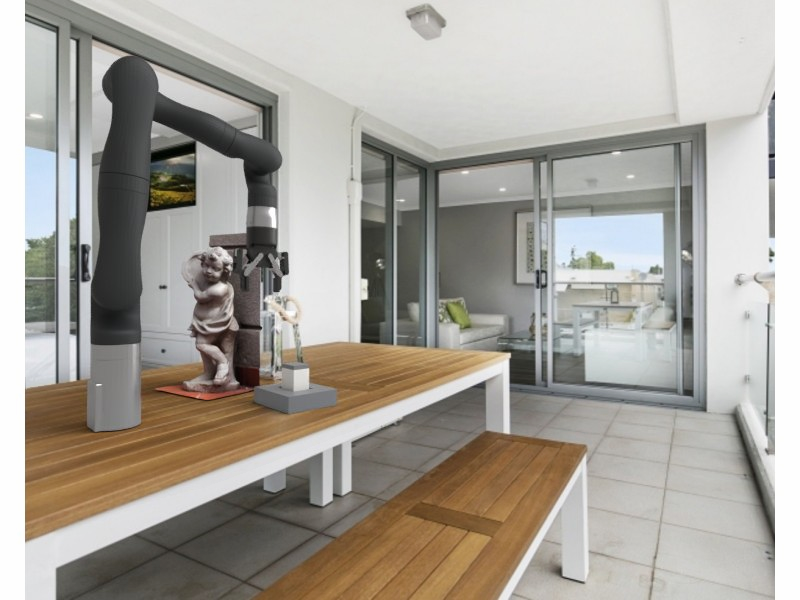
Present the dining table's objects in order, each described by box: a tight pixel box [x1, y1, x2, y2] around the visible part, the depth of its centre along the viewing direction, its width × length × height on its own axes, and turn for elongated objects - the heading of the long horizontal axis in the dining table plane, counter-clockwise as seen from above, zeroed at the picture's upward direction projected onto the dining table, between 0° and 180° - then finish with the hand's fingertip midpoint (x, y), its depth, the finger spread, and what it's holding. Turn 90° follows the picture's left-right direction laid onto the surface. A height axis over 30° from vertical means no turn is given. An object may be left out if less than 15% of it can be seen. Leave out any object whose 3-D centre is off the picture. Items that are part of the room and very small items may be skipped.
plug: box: [281, 361, 310, 392], centre depth 127 cm, size 4×6×9 cm
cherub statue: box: [155, 232, 263, 401], centre depth 142 cm, size 23×19×45 cm
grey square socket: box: [253, 381, 338, 415], centre depth 127 cm, size 14×16×4 cm
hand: (261, 292), depth 125 cm, fingers open, 8 cm apart
